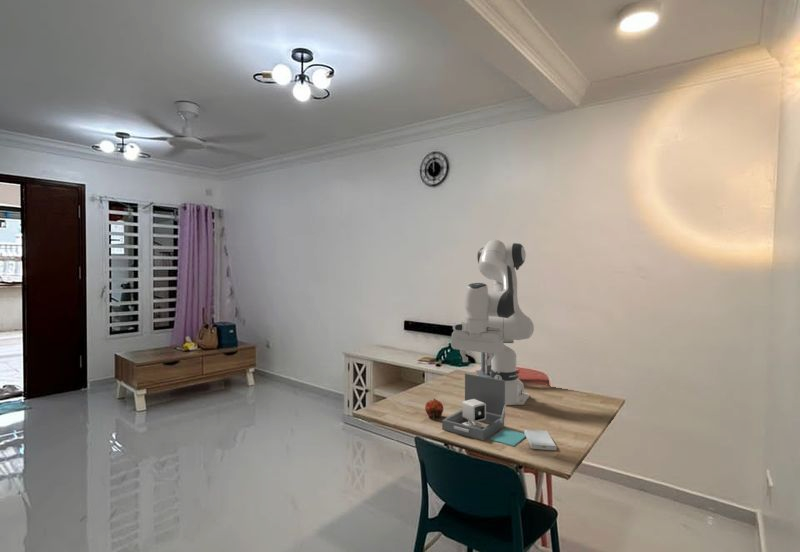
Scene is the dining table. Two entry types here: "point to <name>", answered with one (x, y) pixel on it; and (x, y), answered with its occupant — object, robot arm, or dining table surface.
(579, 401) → the dining table surface
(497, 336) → the robot arm
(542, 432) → the hard drive
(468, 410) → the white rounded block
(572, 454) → the dining table surface
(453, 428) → the equipment case
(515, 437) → the teal mat
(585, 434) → the dining table surface
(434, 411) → the pomegranate
